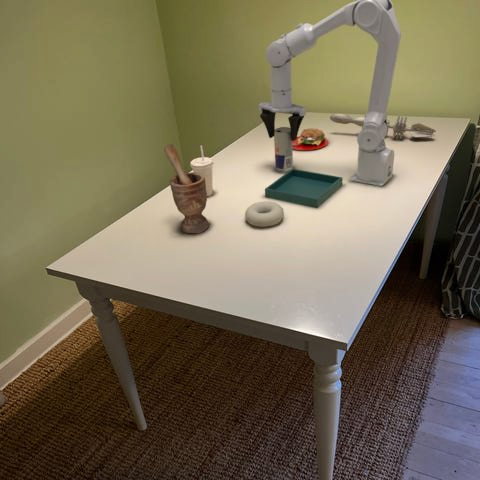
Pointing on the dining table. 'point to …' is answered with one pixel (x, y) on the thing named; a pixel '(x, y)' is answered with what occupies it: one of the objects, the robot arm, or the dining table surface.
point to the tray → (304, 187)
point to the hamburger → (310, 140)
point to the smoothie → (204, 170)
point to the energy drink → (283, 149)
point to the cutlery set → (389, 126)
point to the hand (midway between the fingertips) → (282, 138)
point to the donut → (264, 214)
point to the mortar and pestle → (188, 194)
